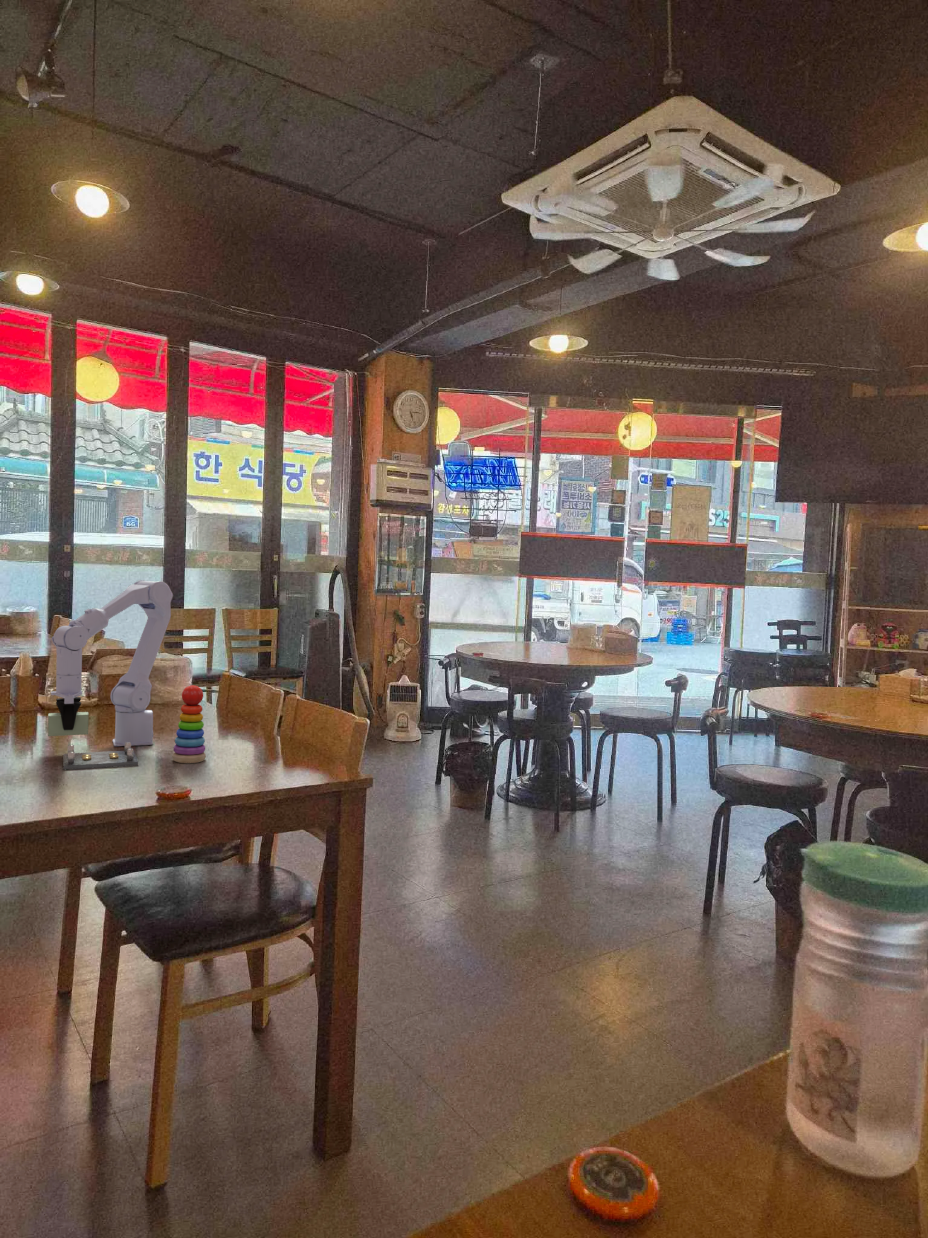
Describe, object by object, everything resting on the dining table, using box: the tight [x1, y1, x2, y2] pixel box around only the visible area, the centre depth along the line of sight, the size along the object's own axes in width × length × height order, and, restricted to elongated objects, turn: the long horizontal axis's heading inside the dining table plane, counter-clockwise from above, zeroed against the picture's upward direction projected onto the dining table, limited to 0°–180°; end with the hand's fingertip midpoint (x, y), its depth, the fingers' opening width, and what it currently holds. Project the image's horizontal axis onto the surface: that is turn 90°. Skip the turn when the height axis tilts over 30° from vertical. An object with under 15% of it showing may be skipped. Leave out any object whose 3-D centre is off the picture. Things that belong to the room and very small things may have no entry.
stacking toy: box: [171, 684, 207, 764], centre depth 204 cm, size 8×8×19 cm
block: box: [47, 711, 89, 737], centre depth 206 cm, size 9×4×5 cm, turn 116°
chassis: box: [62, 742, 139, 771], centre depth 199 cm, size 16×13×4 cm
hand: (68, 728), depth 206 cm, fingers closed on block, 4 cm apart
